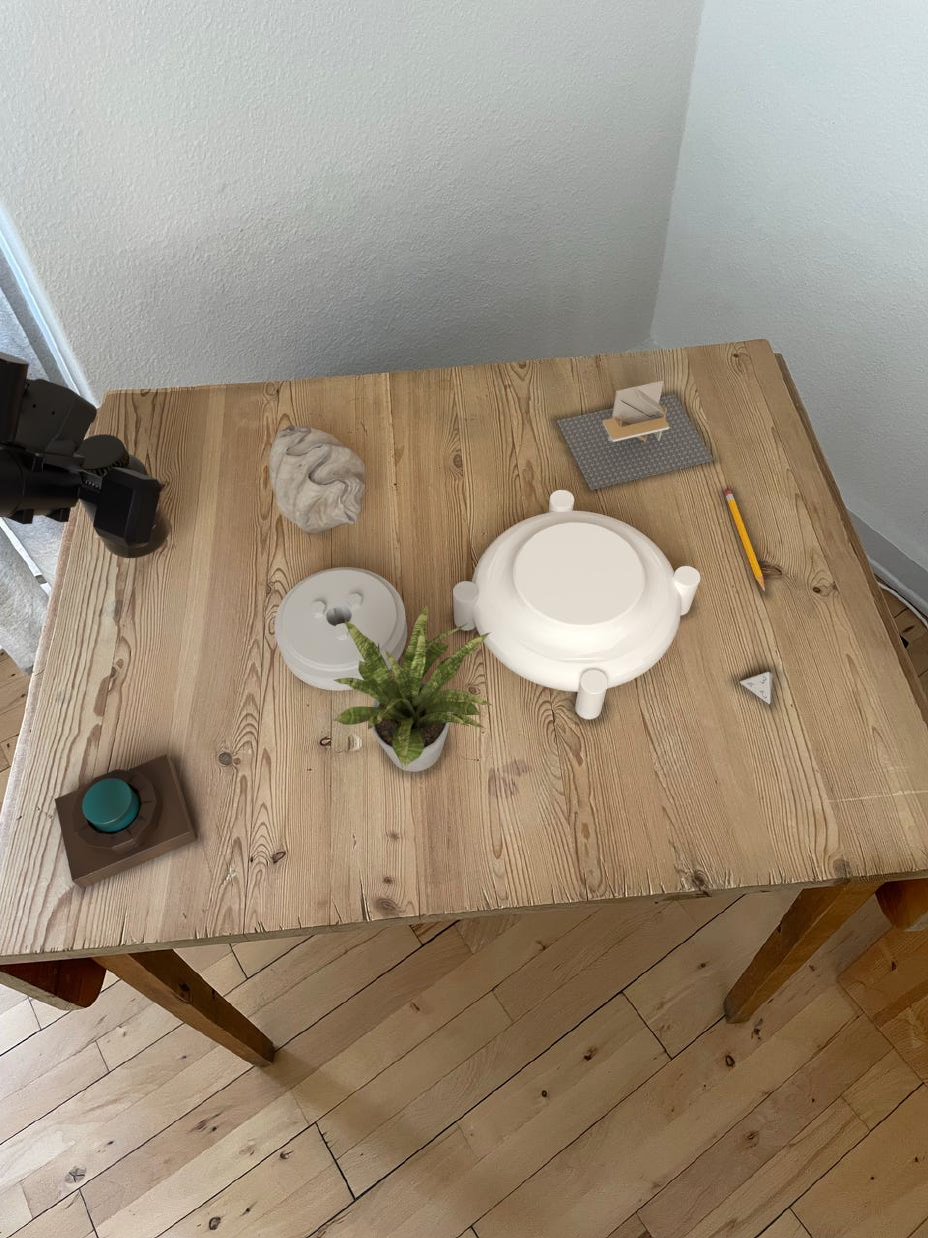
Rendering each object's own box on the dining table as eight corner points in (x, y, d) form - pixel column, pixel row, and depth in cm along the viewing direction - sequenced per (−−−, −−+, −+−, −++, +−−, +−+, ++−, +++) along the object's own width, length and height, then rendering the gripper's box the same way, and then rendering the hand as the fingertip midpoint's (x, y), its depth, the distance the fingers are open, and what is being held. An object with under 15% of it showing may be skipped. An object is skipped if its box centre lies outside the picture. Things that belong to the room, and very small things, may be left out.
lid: (273, 602, 90) (263, 573, 85) (393, 576, 91) (389, 547, 87) (291, 708, 83) (280, 683, 79) (420, 678, 84) (417, 652, 80)
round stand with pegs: (446, 528, 94) (444, 484, 88) (666, 513, 95) (678, 468, 89) (462, 728, 81) (461, 693, 76) (716, 710, 82) (735, 673, 76)
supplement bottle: (175, 552, 89) (137, 471, 79) (106, 567, 88) (59, 486, 78) (169, 503, 92) (132, 419, 82) (103, 517, 91) (57, 433, 81)
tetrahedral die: (742, 672, 85) (739, 655, 83) (772, 674, 84) (770, 656, 82) (739, 703, 84) (735, 686, 81) (770, 704, 82) (767, 688, 80)
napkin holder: (665, 449, 100) (677, 401, 94) (608, 462, 99) (617, 414, 93) (653, 429, 102) (664, 380, 96) (598, 441, 101) (605, 393, 95)
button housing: (82, 889, 74) (63, 875, 71) (64, 807, 78) (45, 791, 75) (196, 840, 76) (183, 824, 73) (173, 763, 80) (160, 745, 77)
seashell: (280, 567, 92) (260, 506, 84) (276, 463, 100) (257, 398, 92) (376, 555, 93) (366, 493, 84) (365, 453, 101) (354, 387, 92)
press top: (96, 840, 73) (87, 831, 71) (87, 798, 75) (77, 789, 73) (144, 820, 73) (135, 811, 72) (133, 779, 75) (125, 770, 74)
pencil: (731, 494, 97) (732, 490, 96) (767, 592, 89) (769, 589, 89) (724, 494, 97) (725, 490, 96) (759, 593, 89) (761, 590, 89)
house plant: (510, 819, 77) (517, 740, 63) (354, 844, 76) (326, 769, 62) (484, 679, 84) (484, 581, 71) (341, 699, 83) (314, 604, 70)
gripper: (107, 418, 66) (224, 430, 81) (-77, 350, 71) (65, 373, 86) (80, 555, 69) (197, 543, 84) (-96, 482, 74) (45, 482, 88)
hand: (125, 482), depth 85 cm, fingers closed on supplement bottle, 7 cm apart
